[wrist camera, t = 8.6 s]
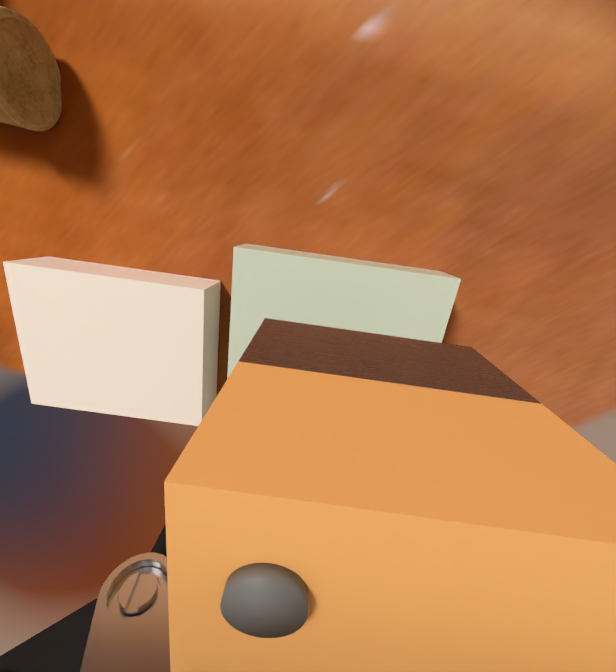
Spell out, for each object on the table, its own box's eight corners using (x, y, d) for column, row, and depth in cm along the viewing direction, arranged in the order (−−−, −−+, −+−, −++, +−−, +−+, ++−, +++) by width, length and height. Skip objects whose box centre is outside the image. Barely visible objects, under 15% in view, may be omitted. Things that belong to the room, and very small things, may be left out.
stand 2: (236, 410, 23) (224, 436, 20) (246, 243, 19) (233, 246, 16) (395, 431, 23) (405, 460, 20) (440, 271, 19) (461, 278, 16)
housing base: (264, 317, 9) (238, 361, 6) (471, 347, 9) (541, 403, 6) (243, 557, 12) (219, 656, 9) (392, 577, 12) (413, 682, 9)
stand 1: (67, 381, 23) (31, 403, 20) (48, 256, 20) (2, 261, 17) (216, 401, 23) (201, 426, 20) (220, 280, 20) (204, 289, 17)
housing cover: (238, 361, 6) (154, 497, 3) (541, 403, 6) (760, 581, 3) (219, 656, 9) (172, 859, 6) (413, 682, 9) (457, 897, 6)
